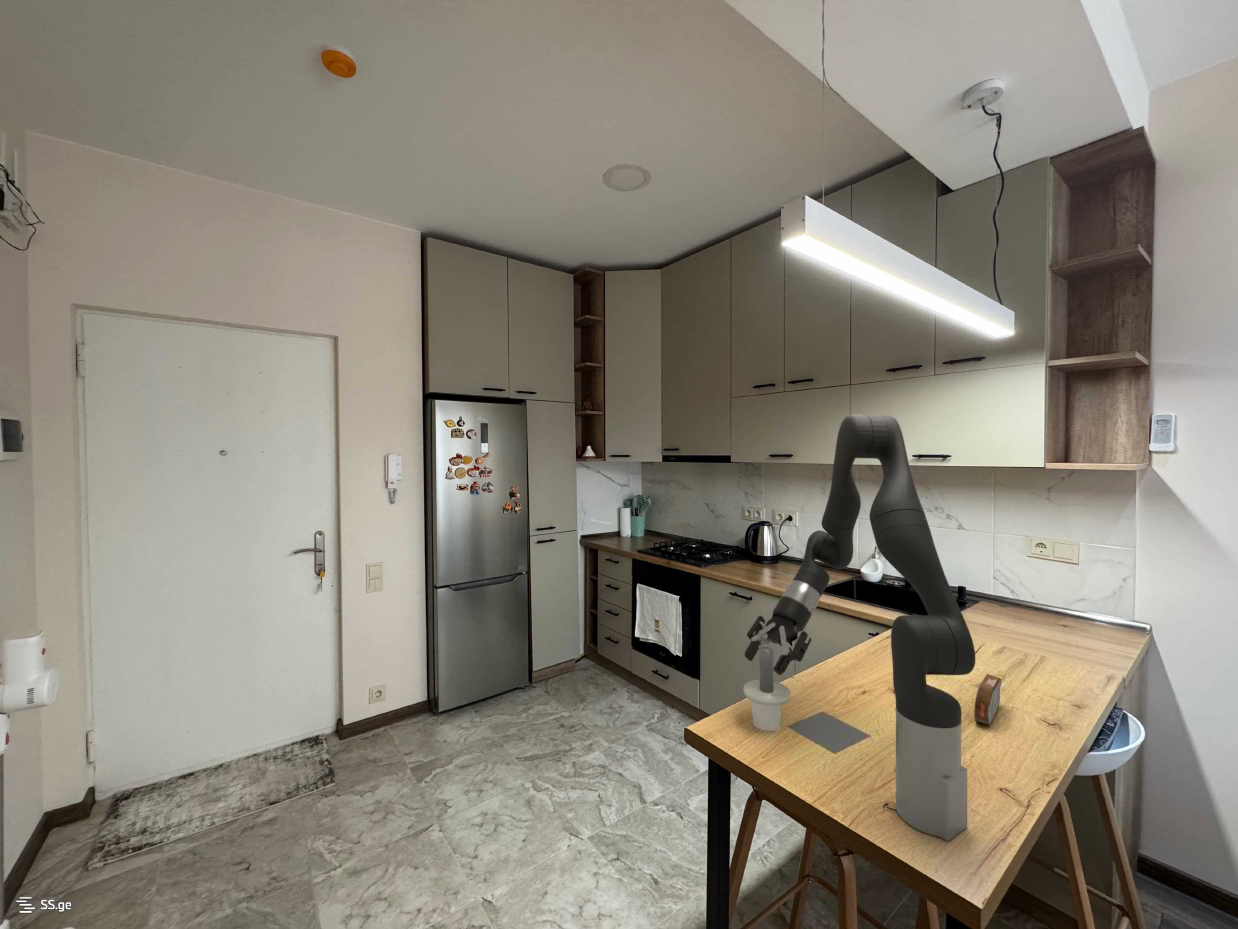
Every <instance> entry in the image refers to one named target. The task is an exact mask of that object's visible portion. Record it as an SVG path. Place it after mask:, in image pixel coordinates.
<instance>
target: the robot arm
mask: <svg viewBox="0 0 1238 929" xmlns="http://www.w3.org/2000/svg"><path fill="white" fill-rule="evenodd" d="M834 451H835V453H834V457H833V466H832V476H831V485H830V491H829V495H828V500H827V502H826V506H825V510H824V512H823V515H822V519H821V527H822V529H823V530H816V531H814V532H812V533H811V534H810V535H809V537H808V539H807V541H806V548H805V551H804V554H803V558H802V563H801V565H800V567H799V569H798V571H797V572H796V574H795V575H794V577H793V579H792V581H791V582H790V584H788V586H787V587H786V588H785V590H784V592H783V594H782V595H781V597H780V598H779V599H778V602H777V603H776V605H775V607H774V608H773V610H772V616H771V618H770V619H769V620H768V619H766V618H764V617H763V616H762V615H759V616H758V617H757V618H756V619H755V621H754V623H753V624H752V626H750V628H749V629H748V631H747V633H746V637H747V638H748V639H749V640H750V642H749V645H748V646H747V647H746V650H745V651H744V657H745V659H746V660H747V661H749V662H752V661H753V660H754V658H755V656H756V655H757V653H758V652H759V648H761V646H762V647H763V646H764V645H765V644H767V645H768V644H770V643H772V644H776V645H777V644H778V645H779V646H780V647H782V653H783V654H780V656H779V658H778V660H777V662H776V663H775V665H774V673H776V674H777V675H779V676H781V675H782V674H784V673H785V672H786V670H787V669H788V667H789V665H790V663H791V662H793V661H796V662H802V661H803V659H804V657H805V654H806V653H807V650H808V649H809V646H810V644H811V642H812V638H811V636H810V635H809V634H808V633H807V632H806V631H805V628H806V626H807V625H808V623H809V621H810V619H811V618H812V615H813V614H814V612H815V611H816V608H817V607H818V605H819V601H820V599H821V597H822V596H823V594H824V592H825V590H826V588H827V586H828V584H829V583H830V580H831V579H830V574H829V573H828V571H826V570H825V569H824V568H823V567H822V566H820V564H818V563H817V562H816V560H818V562H820V563H823V564H825V565H827V566H829V567H831V568H833V569H836V570H844V569H845V568H847V567H848V566H849V565H850V564H851V562H852V560H853V555H854V529H855V525H856V522H857V520H858V518H859V514H860V511H861V506H862V500H861V495H860V492H859V490H858V487H857V485H856V482H855V479H854V476H853V472H852V471H853V466H854V462H855V460H856V459H877V460H879V462H880V465H881V468H882V476H883V478H882V482H881V484H880V487H879V489H878V492H877V493H876V495H875V498H874V499H873V502H872V505H871V506H870V510H869V522H870V526H871V529H872V533H873V538H874V541H875V544H876V547H877V550H878V551H879V552H880V554H881V555H882V556H883V558H884V559H885V560H886V561H887V562H888V563H889V564H890V565H891V566H892V567H893V568H894V569H895V570H896V571H897V572H898V573H899V574H900V575H901V576H902V577H903V578H904V579H905V580H906V581H907V582H908V583H909V584H910V585H911V586H912V588H913V589H914V590H915V591H916V593H917V594H918V596H919V598H920V599H921V602H922V604H923V605H924V608H925V610H926V612H927V615H924V614H921V615H919V614H916V615H915V614H914V615H913V614H909V615H908V614H906V615H899V616H897V617H896V618H895V619H894V621H893V623H892V625H891V630H890V634H891V635H890V647H891V649H890V650H891V659H892V660H891V662H892V682H893V689H894V696H895V697H894V698H895V807H896V808H895V809H896V812H897V814H898V815H899V817H900V818H901V819H902V821H904V822H905V823H907V825H909V826H910V827H912V828H914V829H916V830H917V831H920V832H922V833H925V834H926V835H927V834H928V835H931V836H934V837H935V836H936V837H939V838H941V839H943V840H945V841H947V842H948V841H950V840H952V839H953V838H954V837H956V836H957V835H958V834H959V833H961V832H962V831H963V830H965V829H967V827H968V769H967V767H966V766H963V765H962V706H961V704H960V702H959V700H957V698H956V697H955V696H953V695H951V694H950V693H948V692H947V691H944V690H942V689H941V688H938V687H935V686H932V685H929V684H927V676H930V675H931V676H964V675H965V676H966V675H969V674H970V673H971V672H972V671H973V670H974V669H975V665H976V651H975V645H974V641H973V638H972V634H971V633H970V629H969V627H968V625H967V623H966V620H965V618H964V615H963V613H962V611H961V609H960V606H959V604H958V602H957V599H956V598H955V595H954V593H953V591H952V588H951V586H950V584H949V581H948V578H947V577H946V575H945V572H944V568H943V566H942V564H941V560H940V557H939V554H938V551H937V548H936V546H935V541H934V538H933V535H932V531H931V528H930V525H929V523H928V520H927V516H926V514H925V511H924V509H923V506H922V503H921V500H920V497H919V495H918V492H917V488H916V484H915V482H914V478H913V474H912V472H911V467H910V463H909V458H908V454H907V450H906V444H905V440H904V435H903V432H902V429H901V426H900V424H899V422H898V420H897V419H896V418H895V417H893V416H892V415H889V414H888V415H887V414H872V413H857V414H856V413H852V414H848V415H846V416H845V417H844V418H843V420H842V421H841V423H840V425H839V429H838V433H837V437H836V445H835V450H834ZM795 641H796V643H795V644H794V642H795Z"/></svg>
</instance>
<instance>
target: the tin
mask: <svg viewBox="0 0 1238 929" xmlns="http://www.w3.org/2000/svg"><path fill="white" fill-rule="evenodd" d="M1001 686H1002V678H1001V677H998V676H996V675H995V676H994V675H992V674H989V673H986V675H985V676H984V677H983V679H982V680H981V682H980V683H979V685H978V687H977V692H976V696H975V702H974V709H973V710H974V711H973V712H974V713H973V714H974V715H973V716H974V721H975V722H978V723H982V724H985V725H989V726H990V725H991V723H992V722H993V720H994V718H995V717H996V715H997V713H998V710H999V707H1000V706H999V705H1000V702H1001V701H1000V700H1001V696H1000V695H1001Z"/></svg>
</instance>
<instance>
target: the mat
mask: <svg viewBox="0 0 1238 929" xmlns="http://www.w3.org/2000/svg"><path fill="white" fill-rule="evenodd" d="M786 727H787V728H788V729H790V730H792V731H794V732H795V733H797V734H799V735H801V736H802V737H804V738H806V739H808V740H810V741H812V742H813V743H815V744H817V745H818V746H820V747H821V748H824V749H825V750H827V751H829V752H830V753H833V754H838V753H839V752H842V751H844V750H845V749H848V748H850V747H852V746H854V745H856V744H858V743H861V741H863V740H866V739H868V738H870V737H871V736H872V735H870V734H869V733H866V732H864V731H862V730H860V729H859V728H857V727H854V726H852V725H850V724H848V723H846V722H845V721H842V720H841V719H838V718H837V717H834V715H833V716H832V715H831V714H828V713H826V712H824V711H823V710H821V711H820V712H818V713H815V714H813V715H810V716H808V717H806V718H803V719H801V720H799V721H797V722H796V721H795V722H794V723H791V724H789V725H787V726H786Z"/></svg>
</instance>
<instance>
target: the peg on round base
mask: <svg viewBox="0 0 1238 929" xmlns="http://www.w3.org/2000/svg"><path fill="white" fill-rule="evenodd" d="M758 654H759V659H758V660H759V679H754V680H750V681H747V682H746V683H745V684H744V685H743V687H742V688H743V695H744V696H745V698H746V699H748V700H750V702H751V701H753V702H756V703H759V704H763V705H782V706H783V705H785V704H786V703H789V702H790V700H791V696H792V695H791V690H790V688H789V687H788V686H786V685H784V684H783V683H780V682H778V681H775V680H774V679H775V678H774V677H775V676H774V675H775V674H774V673H775V671H774V667H775V665H774V663H775V662H774V655H775V654H774V648H772V647H769V646H762V647H761V646H760V647H759V650H758Z"/></svg>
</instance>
